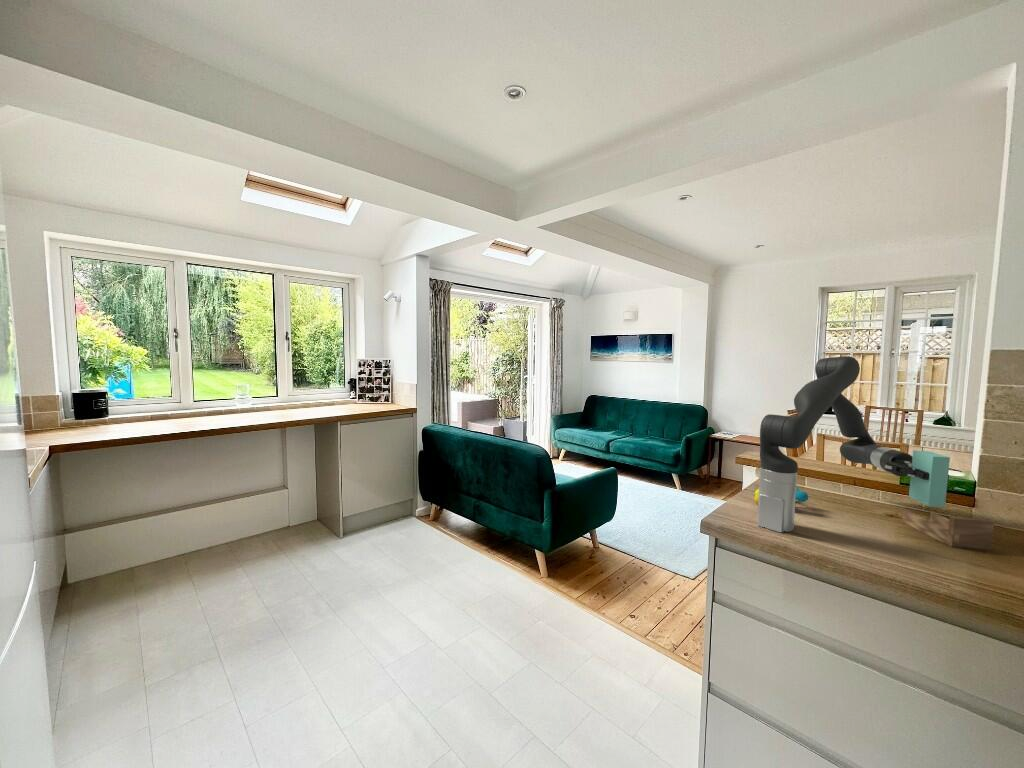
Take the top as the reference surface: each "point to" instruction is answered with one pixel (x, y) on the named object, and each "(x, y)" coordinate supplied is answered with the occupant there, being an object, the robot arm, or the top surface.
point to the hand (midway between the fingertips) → (937, 477)
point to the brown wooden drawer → (954, 530)
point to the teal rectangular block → (930, 478)
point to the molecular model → (800, 497)
